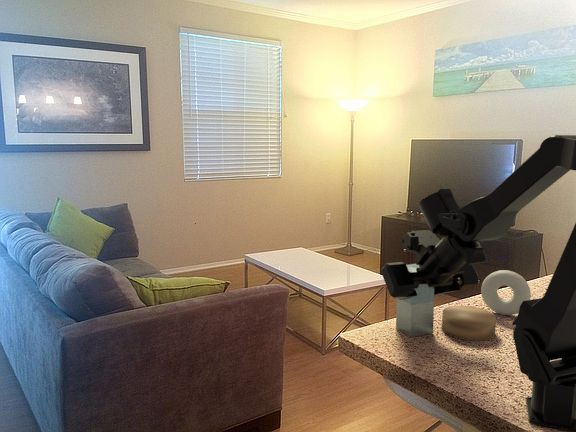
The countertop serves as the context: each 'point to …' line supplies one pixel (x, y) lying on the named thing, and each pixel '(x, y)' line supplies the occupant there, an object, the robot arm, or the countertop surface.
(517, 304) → the donut
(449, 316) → the pedestal
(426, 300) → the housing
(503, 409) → the countertop surface
